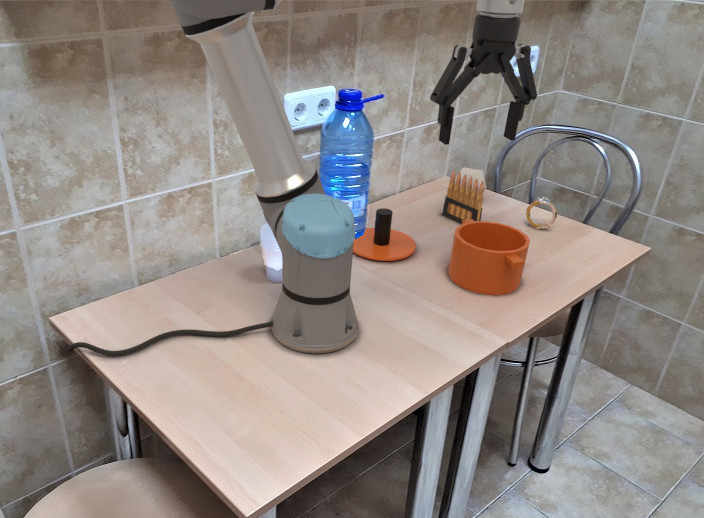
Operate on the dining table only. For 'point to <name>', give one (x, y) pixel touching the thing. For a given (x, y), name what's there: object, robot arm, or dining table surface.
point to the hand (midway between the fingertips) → (476, 140)
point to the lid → (384, 240)
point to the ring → (538, 202)
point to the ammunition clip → (463, 199)
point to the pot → (488, 257)
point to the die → (473, 176)
